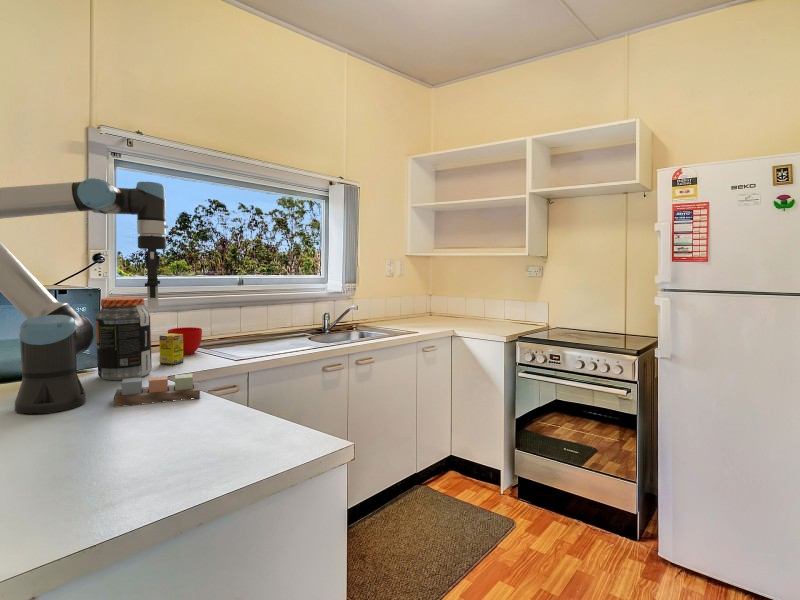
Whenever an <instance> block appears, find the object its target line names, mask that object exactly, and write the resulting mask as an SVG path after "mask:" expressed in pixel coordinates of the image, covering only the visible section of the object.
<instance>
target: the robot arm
mask: <svg viewBox="0 0 800 600" xmlns="http://www.w3.org/2000/svg"><path fill="white" fill-rule="evenodd" d="M166 200H167V199H166V188H165V186H164V184H162V183H159V182H153V181H138V182H137V183H136V186H135V187H134V188H129V187H128V188H127V187H116V186H114V185H112V184H110V183H109V182H108V181H105V180H104V179H100V178H96V177H95V178H90V177H89V178H87V179H84V180H82V181H76V182H74V181H71V182H59V183H45V184H32V185H19V186H6V187H5V186H4V187H3V186H2V187H0V219H11V218H12V219H13V218H23V217H35V216H42V215H43V216H44V215H55V214H56V215H57V214H66V213H76V212H90V211H91V212H92V213H95V214H103V215H107V214H109V215H134V216H135V215H136V217H137V219H136V226H137V227H136V229H137V234H138V235H139V236H137V248H138V249H140V250H147V252H146V254H144V261H145V268H146V269H147V271H146V272H147V280H146V282H144V287H147V288H146V289H147V291H146V292H147V294H146V295H147V300H146V301H147V310H159V285H160V284H161V280H159V279H158V269H159V268H160V261H161V256H160V255H158V251H157V250H166V249H167V238H166V237H165V235H166V234H167V232H166V231H167V229H169V225H167V224H166V221H167V220H166V217H167V215H166V209H167V201H166ZM0 293H1V294H2V295H3V297H4V298H6V299H7V300H8V302H10V304H12V306H13V307H15V309H16V310H17V311H18V312H19V313H21V314H22V316H23V317H25V319H26V320H24V321H23V322H21V323H20V327H19V335H18V337H19V341H20V357H21V358H20V359H21V373H22V375H21V376H22V378H21V383H20V387H19V389H18V392H17V395H16V398H15V401H14V411H15V413H17V412H18V414H21V413H27V414H26V415H33V414H32V413H45V414H49V413H48V412H53V413H59V412H64V411H68V410H71V409H75V408H77V407H80V406H82V405H84V404H85V403H86V402H87V401H86V399H87V397H86V392H85V390H84V387H83V385H82V382H81V381H80V378H79V376H78V370H77V369H78V367H77V365H78V364H77V356H78V355H81V354H83V353H85V352H86V351H87V350H88V349H89V348H90V347H91V345H93V343H94V341H95V340H96V339H95V338H96V326H95V325H94V323H93V322H92V320H90V319H89V318H88V317H87V316H86V315H83V314H79V313H77V311H76V310H75V309H74V308H73V307H72V306H71V305H70V304H69V303H68V302H61V301H58V300H57V299H56V298H55V297H54V296H53V295H52V293H50V292H49V291H48V289H47V288H45V286H44V285H43V284H42V283H41V282H40V281H39V280H38V279H37V277H35V275H33V274H32V273H31V272H30V271H29V269H28V268H26V267H25V265H23V263H21V261H20V260H19V259H18V258H17V257H16V256H15V255H14V254H13V253H12V252H11V251H10V250H9V249H8V248H7V246H5V244H4V243H3V242H2V241H0ZM58 411H59V412H58ZM28 413H29V414H28ZM30 413H31V414H30Z"/></svg>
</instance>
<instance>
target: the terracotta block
mask: <svg viewBox="0 0 800 600" xmlns="http://www.w3.org/2000/svg"><path fill="white" fill-rule="evenodd" d="M168 377H169V376H168V375H158V376H149V378H148V387H149V393H153V392H164V391H168V385H169V384H168V383H169V378H168Z"/></svg>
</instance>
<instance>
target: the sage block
mask: <svg viewBox="0 0 800 600" xmlns="http://www.w3.org/2000/svg"><path fill="white" fill-rule="evenodd" d="M193 383H194V377H193V373H184V374H175V375H174V385H175V390H187V389H193Z"/></svg>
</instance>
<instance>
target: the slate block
mask: <svg viewBox="0 0 800 600" xmlns="http://www.w3.org/2000/svg"><path fill="white" fill-rule="evenodd" d="M120 384H121V387H120V389H122V395H130V394H141V393H142V387H143V378H142V377H139V378H130V379H123V380H121V383H120Z"/></svg>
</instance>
